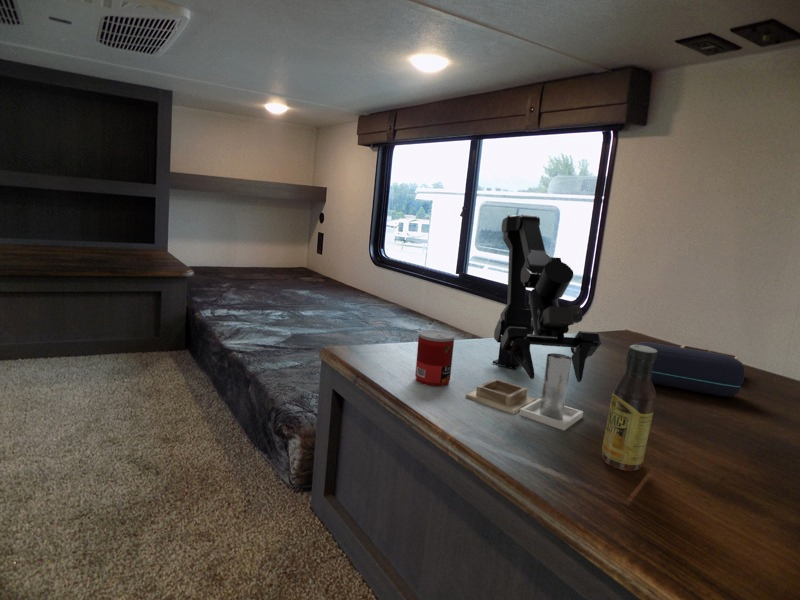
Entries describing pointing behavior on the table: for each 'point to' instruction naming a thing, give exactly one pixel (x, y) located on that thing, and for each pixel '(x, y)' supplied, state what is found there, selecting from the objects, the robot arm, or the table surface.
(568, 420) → the tray
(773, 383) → the table surface
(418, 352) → the canned food
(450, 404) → the table surface
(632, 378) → the sauce bottle
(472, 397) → the wooden socket base
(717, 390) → the portable speaker
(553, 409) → the cylinder
